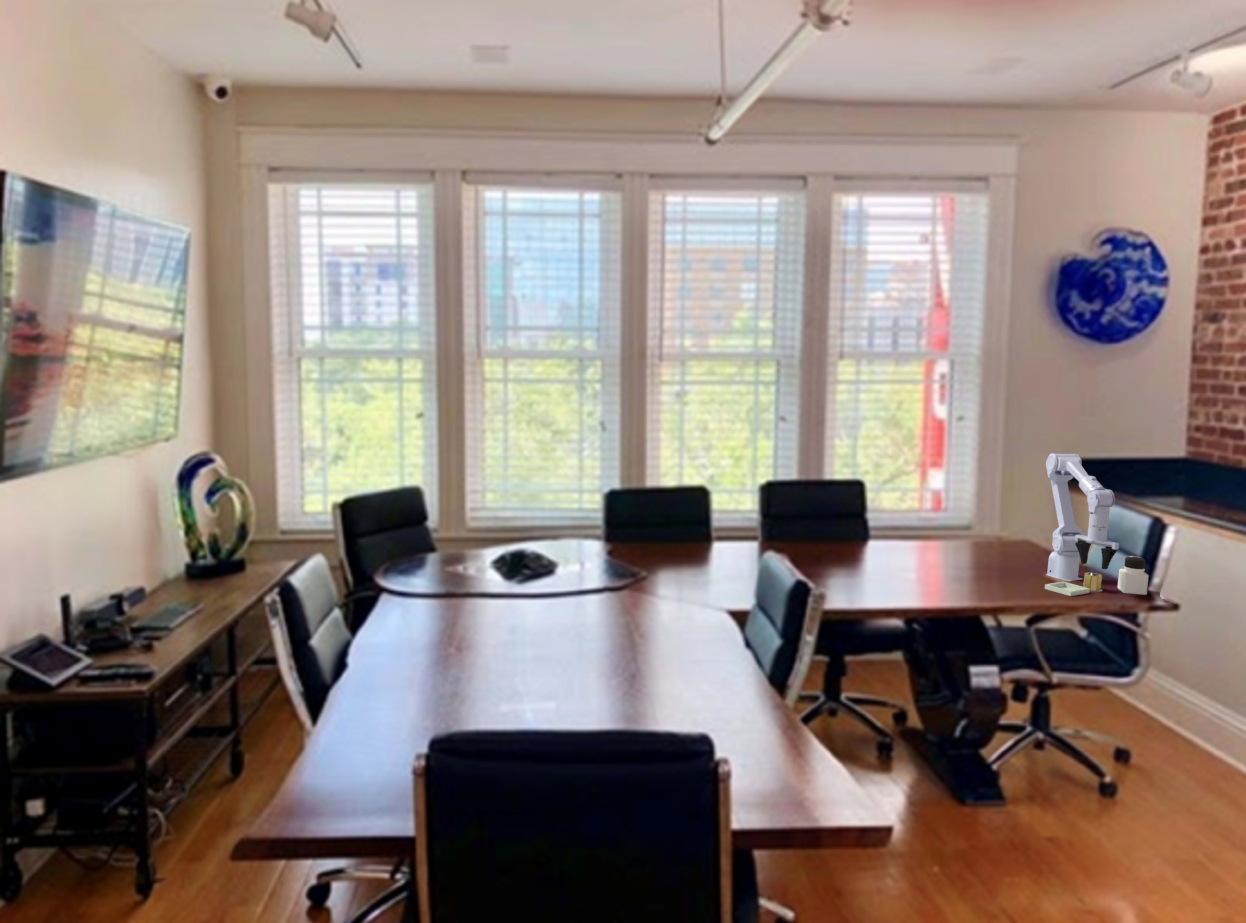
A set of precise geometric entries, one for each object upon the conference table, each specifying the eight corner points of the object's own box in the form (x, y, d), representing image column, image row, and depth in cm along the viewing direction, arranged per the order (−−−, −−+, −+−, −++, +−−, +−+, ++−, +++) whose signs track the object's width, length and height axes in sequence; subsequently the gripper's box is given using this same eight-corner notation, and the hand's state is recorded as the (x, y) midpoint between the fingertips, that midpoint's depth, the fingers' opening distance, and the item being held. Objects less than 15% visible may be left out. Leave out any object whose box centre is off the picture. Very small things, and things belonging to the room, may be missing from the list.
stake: (1076, 589, 322) (1078, 571, 321) (1089, 587, 325) (1090, 570, 324) (1094, 594, 317) (1096, 576, 316) (1106, 592, 320) (1108, 574, 319)
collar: (1080, 587, 322) (1081, 573, 321) (1091, 586, 325) (1093, 571, 324) (1093, 591, 318) (1095, 576, 317) (1105, 589, 321) (1106, 575, 320)
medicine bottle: (1146, 596, 316) (1150, 560, 314) (1123, 594, 318) (1127, 559, 316) (1139, 590, 323) (1143, 555, 321) (1116, 589, 324) (1120, 554, 323)
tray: (1044, 590, 320) (1045, 584, 319) (1063, 587, 324) (1063, 581, 324) (1070, 597, 311) (1070, 591, 311) (1089, 594, 316) (1089, 588, 316)
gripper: (1070, 522, 322) (1066, 562, 324) (1110, 531, 310) (1106, 572, 312) (1084, 521, 326) (1080, 560, 328) (1124, 529, 313) (1120, 570, 315)
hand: (1094, 566), depth 320 cm, fingers open, 7 cm apart
